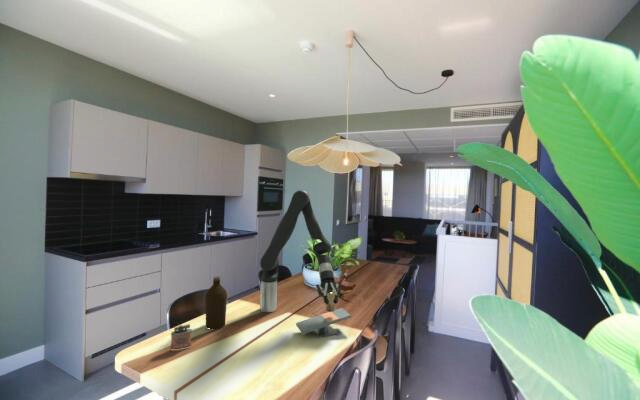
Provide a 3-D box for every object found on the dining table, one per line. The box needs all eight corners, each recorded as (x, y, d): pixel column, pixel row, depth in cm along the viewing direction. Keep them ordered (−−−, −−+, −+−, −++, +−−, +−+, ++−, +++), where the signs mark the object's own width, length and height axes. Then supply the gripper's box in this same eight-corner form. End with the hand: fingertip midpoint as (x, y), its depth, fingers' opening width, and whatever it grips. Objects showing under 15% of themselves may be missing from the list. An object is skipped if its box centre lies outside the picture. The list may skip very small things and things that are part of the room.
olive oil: (222, 330, 141) (223, 280, 141) (200, 330, 141) (202, 279, 141) (229, 321, 151) (230, 274, 151) (209, 320, 152) (210, 274, 151)
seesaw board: (302, 334, 134) (302, 331, 134) (296, 325, 143) (295, 322, 143) (350, 317, 144) (350, 314, 144) (341, 309, 153) (341, 307, 153)
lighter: (170, 352, 121) (171, 328, 120) (170, 348, 124) (171, 325, 123) (191, 348, 124) (192, 325, 124) (191, 344, 127) (191, 322, 127)
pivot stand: (318, 338, 136) (319, 328, 136) (309, 327, 147) (310, 318, 147) (337, 335, 140) (337, 325, 140) (327, 324, 151) (327, 316, 151)
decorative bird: (368, 291, 196) (362, 272, 193) (349, 306, 187) (343, 286, 183) (342, 280, 220) (337, 263, 216) (324, 293, 210) (318, 276, 207)
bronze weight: (328, 312, 142) (328, 294, 142) (324, 309, 146) (324, 291, 146) (336, 311, 143) (336, 293, 143) (332, 307, 148) (332, 290, 147)
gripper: (314, 270, 150) (318, 301, 139) (340, 269, 153) (346, 299, 142) (312, 277, 155) (316, 307, 144) (337, 276, 159) (343, 306, 147)
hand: (331, 303), depth 143 cm, fingers closed on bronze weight, 4 cm apart
